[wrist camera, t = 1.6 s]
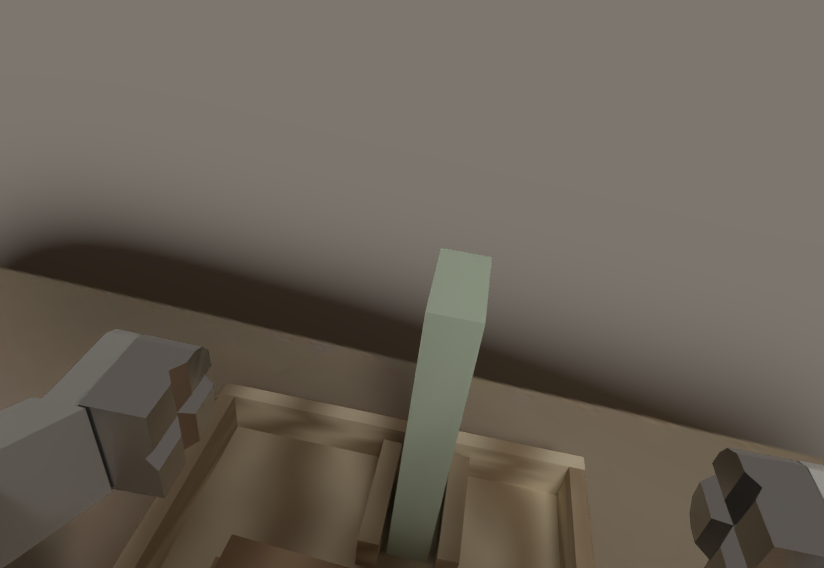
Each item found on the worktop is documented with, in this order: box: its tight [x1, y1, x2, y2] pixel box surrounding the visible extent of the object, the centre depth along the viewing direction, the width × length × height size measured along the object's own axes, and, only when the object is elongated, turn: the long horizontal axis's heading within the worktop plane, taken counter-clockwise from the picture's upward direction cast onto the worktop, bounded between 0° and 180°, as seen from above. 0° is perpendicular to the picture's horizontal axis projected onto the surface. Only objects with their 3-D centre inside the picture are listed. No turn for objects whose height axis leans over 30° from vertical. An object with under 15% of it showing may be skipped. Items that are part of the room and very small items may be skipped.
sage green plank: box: [386, 248, 492, 563], centre depth 30 cm, size 2×5×18 cm, turn 171°
